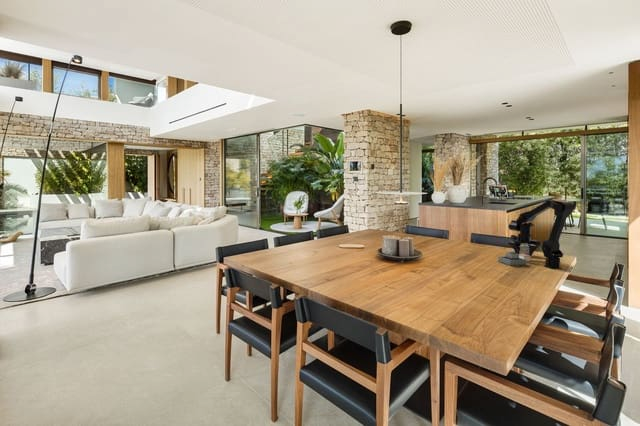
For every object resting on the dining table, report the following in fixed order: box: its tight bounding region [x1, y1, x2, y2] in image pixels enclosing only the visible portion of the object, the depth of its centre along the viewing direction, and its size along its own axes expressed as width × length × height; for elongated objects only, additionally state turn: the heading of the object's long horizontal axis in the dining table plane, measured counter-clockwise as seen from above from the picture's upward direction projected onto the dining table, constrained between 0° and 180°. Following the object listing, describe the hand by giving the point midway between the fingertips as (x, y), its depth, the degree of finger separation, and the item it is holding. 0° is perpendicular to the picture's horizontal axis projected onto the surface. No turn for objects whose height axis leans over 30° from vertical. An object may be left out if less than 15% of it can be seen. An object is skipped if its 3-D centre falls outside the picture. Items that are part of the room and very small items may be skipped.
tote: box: [498, 255, 527, 267], centre depth 202 cm, size 11×11×4 cm
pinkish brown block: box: [519, 254, 531, 262], centre depth 211 cm, size 6×4×4 cm
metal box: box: [505, 251, 519, 260], centre depth 202 cm, size 5×5×6 cm
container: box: [518, 241, 532, 258], centre depth 223 cm, size 8×8×13 cm
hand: (523, 256), depth 211 cm, fingers open, 9 cm apart
